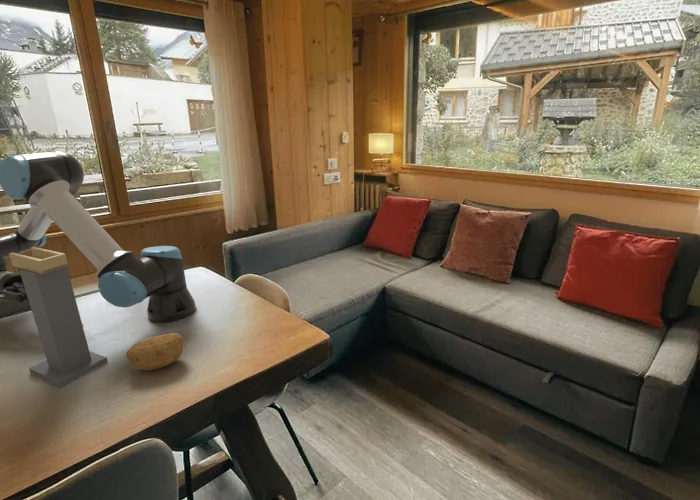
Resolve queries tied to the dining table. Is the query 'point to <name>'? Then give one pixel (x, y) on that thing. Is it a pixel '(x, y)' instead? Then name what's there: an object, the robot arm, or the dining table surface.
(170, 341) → the potato
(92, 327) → the dining table surface
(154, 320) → the robot arm
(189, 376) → the dining table surface
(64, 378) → the stand
